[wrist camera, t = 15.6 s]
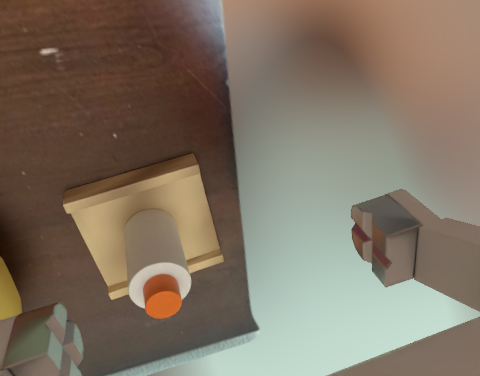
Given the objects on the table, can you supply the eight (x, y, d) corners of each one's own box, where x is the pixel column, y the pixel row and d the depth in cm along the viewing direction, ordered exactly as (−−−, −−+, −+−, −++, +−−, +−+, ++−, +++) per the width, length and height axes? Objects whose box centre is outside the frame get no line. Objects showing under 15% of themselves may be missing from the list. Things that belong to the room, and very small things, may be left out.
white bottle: (168, 201, 37) (187, 271, 29) (181, 241, 40) (202, 315, 32) (116, 218, 37) (120, 294, 28) (133, 257, 39) (141, 337, 31)
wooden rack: (193, 152, 37) (198, 164, 35) (218, 247, 44) (224, 261, 42) (64, 190, 35) (62, 205, 33) (110, 283, 42) (111, 300, 40)
